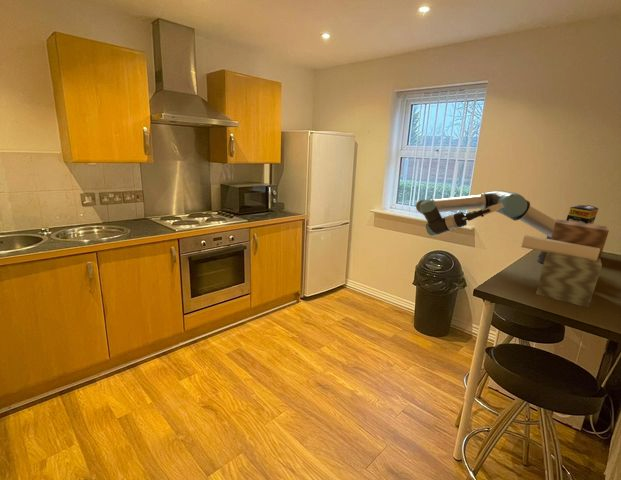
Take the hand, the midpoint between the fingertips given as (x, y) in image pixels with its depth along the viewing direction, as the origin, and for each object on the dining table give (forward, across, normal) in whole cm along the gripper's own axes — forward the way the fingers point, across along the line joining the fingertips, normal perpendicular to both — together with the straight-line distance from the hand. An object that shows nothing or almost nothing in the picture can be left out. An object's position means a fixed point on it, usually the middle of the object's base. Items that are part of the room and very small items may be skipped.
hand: (500, 206), depth 159 cm
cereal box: (+12, -88, -46) cm, 100 cm away
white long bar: (+15, +7, -26) cm, 31 cm away
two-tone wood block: (+10, +1, -45) cm, 46 cm away
